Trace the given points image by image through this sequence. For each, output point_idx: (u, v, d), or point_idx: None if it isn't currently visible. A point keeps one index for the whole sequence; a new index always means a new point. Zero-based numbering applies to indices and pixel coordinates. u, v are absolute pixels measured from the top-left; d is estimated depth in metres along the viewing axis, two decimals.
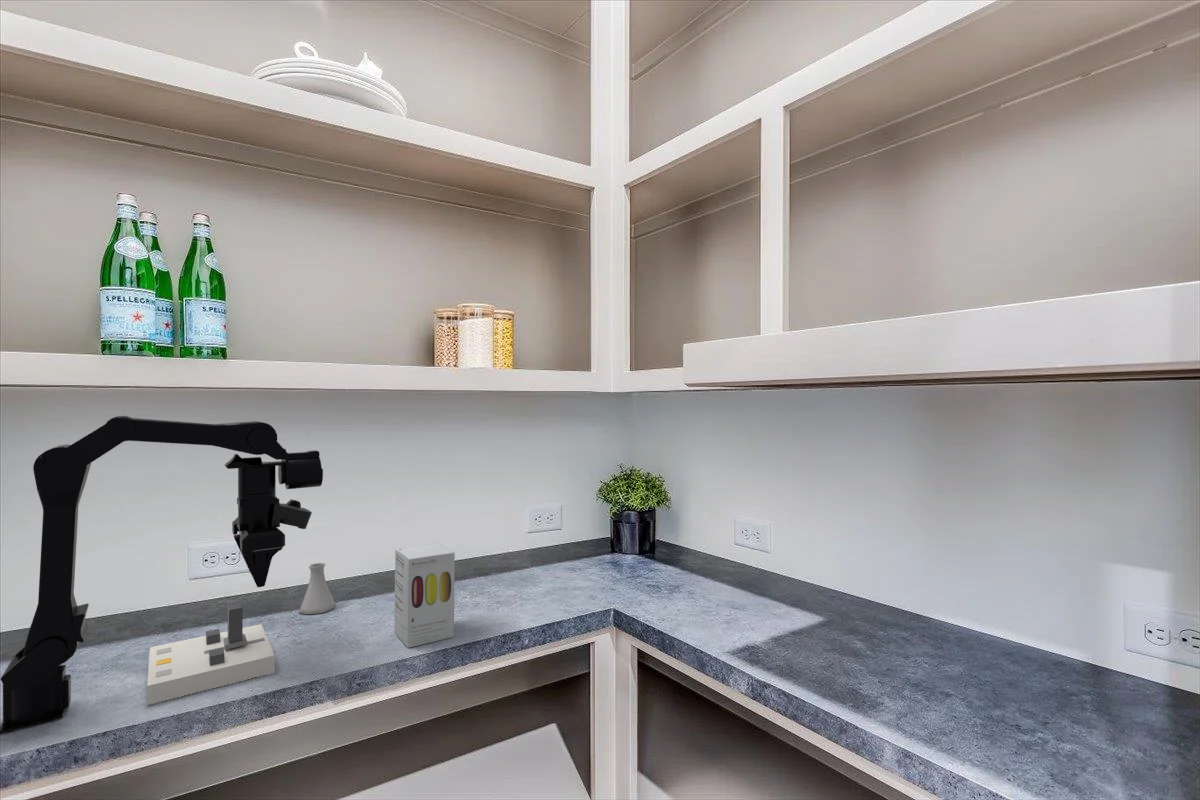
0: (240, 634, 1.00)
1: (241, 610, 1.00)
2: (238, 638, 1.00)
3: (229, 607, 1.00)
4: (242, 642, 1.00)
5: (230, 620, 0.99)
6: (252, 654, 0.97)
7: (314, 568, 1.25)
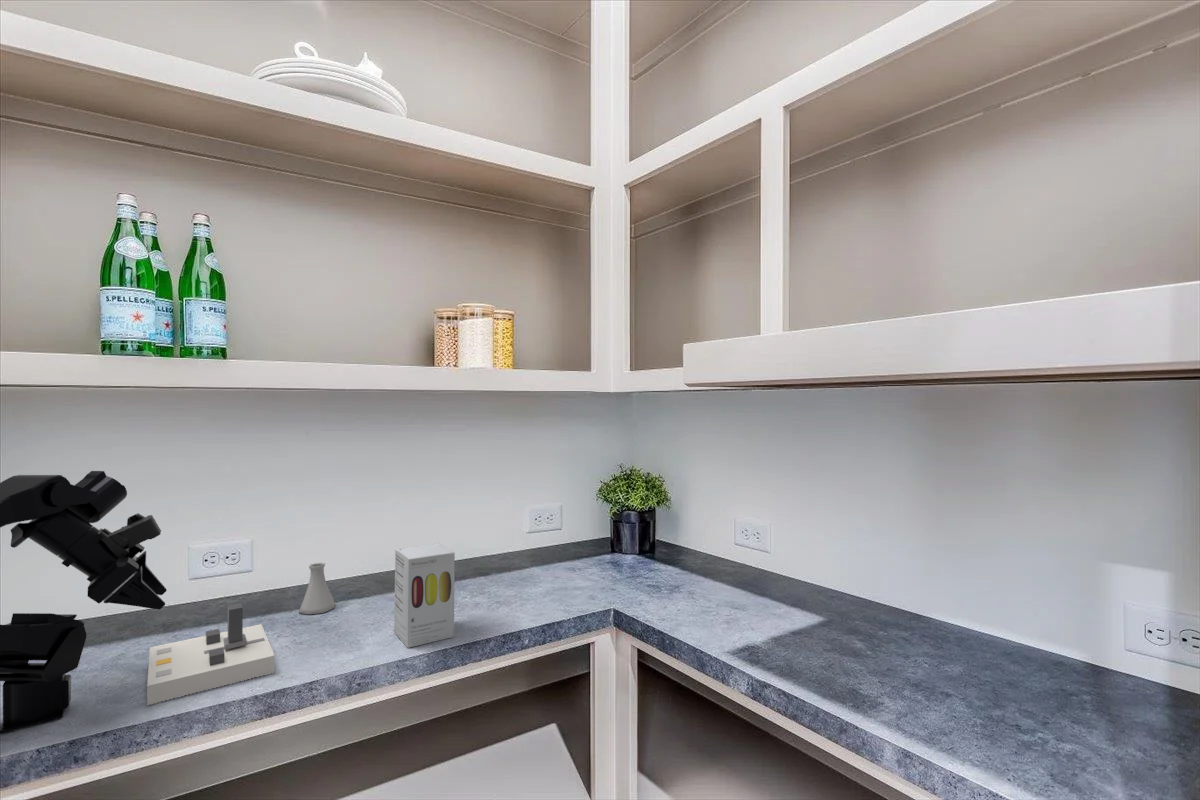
0: (240, 634, 1.00)
1: (241, 610, 1.00)
2: (238, 638, 1.00)
3: (229, 607, 1.00)
4: (242, 642, 1.00)
5: (230, 620, 0.99)
6: (252, 654, 0.97)
7: (314, 568, 1.25)
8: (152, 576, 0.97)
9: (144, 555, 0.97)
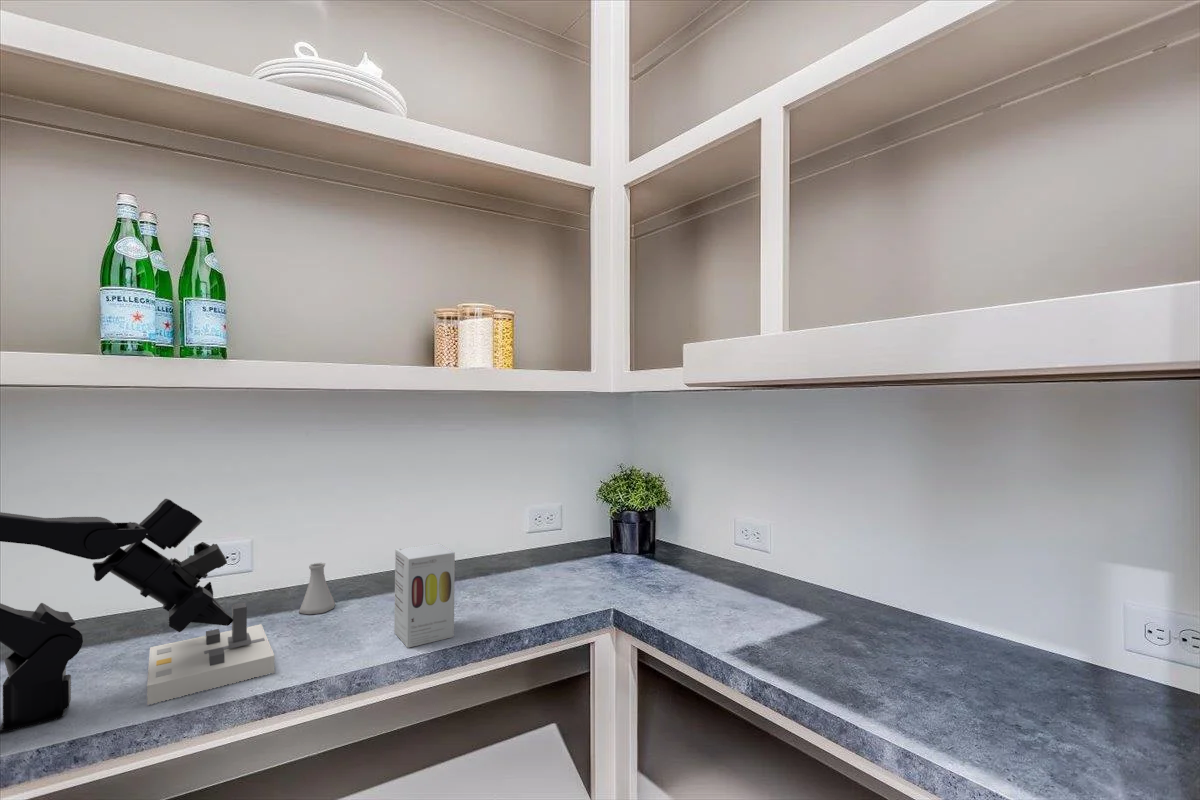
0: (245, 633, 1.00)
1: (245, 609, 1.00)
2: (242, 637, 1.00)
3: (233, 606, 1.01)
4: (246, 641, 1.00)
5: (234, 619, 0.99)
6: (252, 654, 0.97)
7: (314, 568, 1.25)
8: (219, 607, 0.99)
9: (210, 587, 0.99)
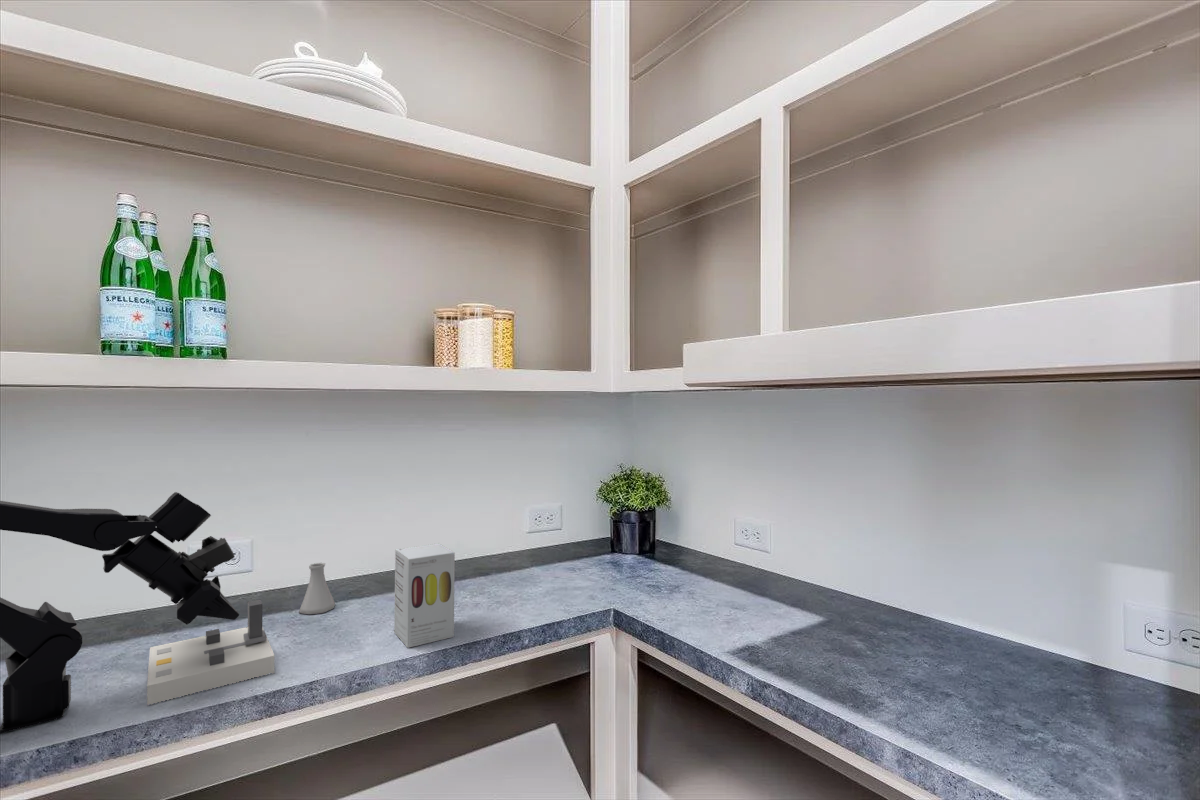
0: (260, 630, 1.02)
1: (261, 606, 1.02)
2: (258, 634, 1.02)
3: (249, 603, 1.02)
4: (262, 638, 1.02)
5: (250, 616, 1.01)
6: (252, 654, 0.97)
7: (314, 568, 1.25)
8: (225, 601, 1.00)
9: (217, 581, 1.00)
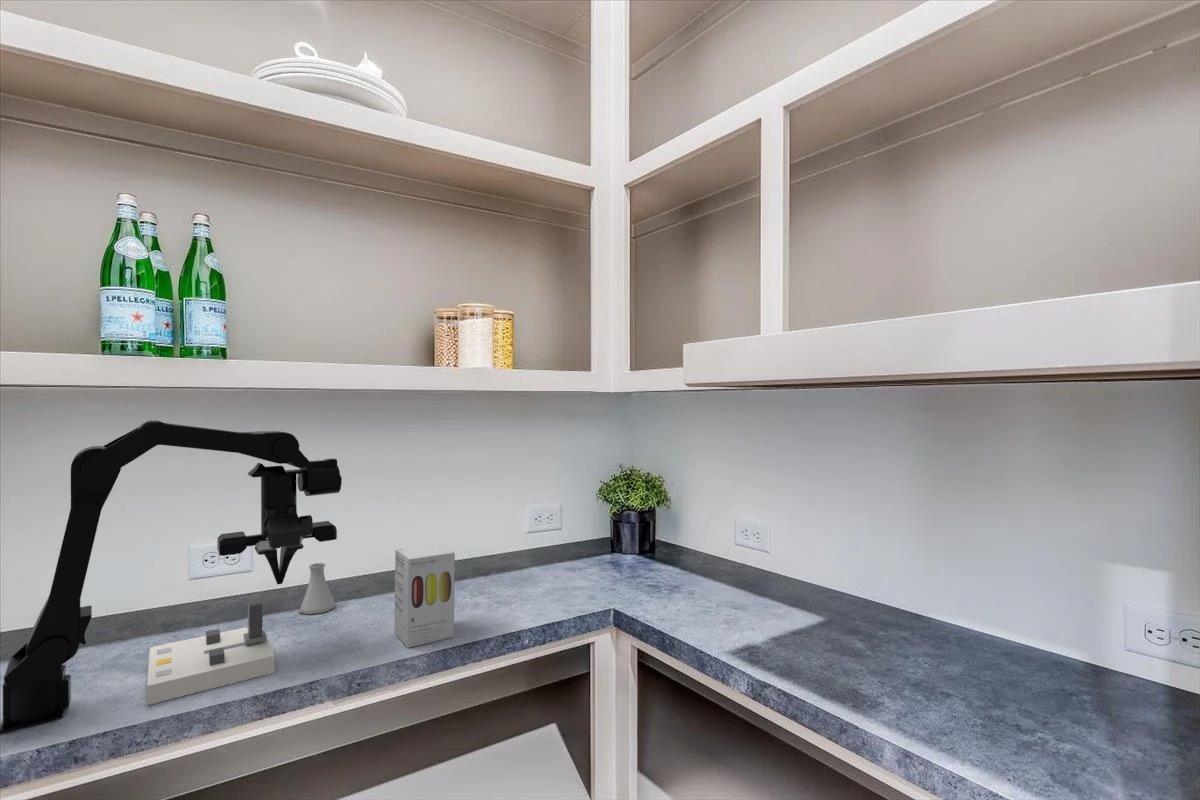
0: (260, 630, 1.02)
1: (261, 606, 1.02)
2: (258, 634, 1.02)
3: (249, 603, 1.02)
4: (262, 638, 1.02)
5: (250, 616, 1.01)
6: (252, 654, 0.97)
7: (314, 568, 1.25)
8: (281, 566, 1.04)
9: (286, 549, 1.03)
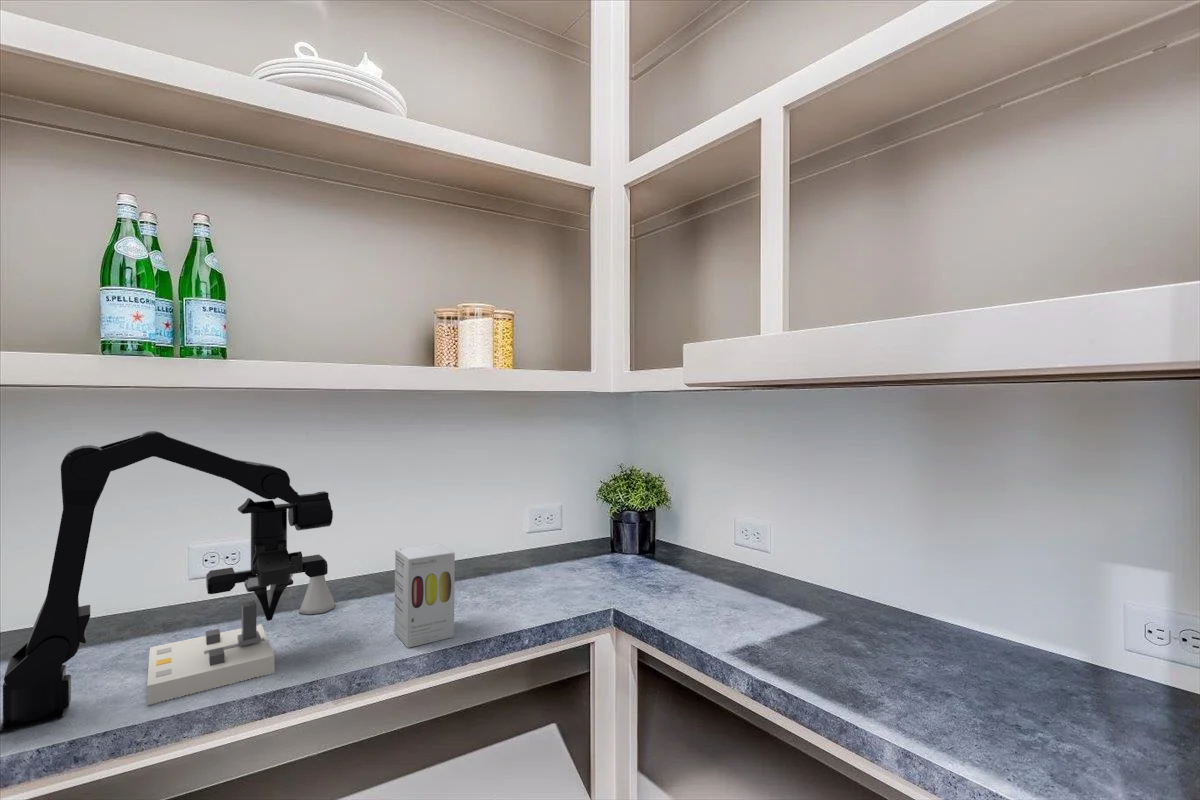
0: (254, 631, 1.01)
1: (255, 607, 1.01)
2: (252, 635, 1.01)
3: (243, 604, 1.01)
4: (256, 639, 1.01)
5: (244, 617, 1.00)
6: (252, 654, 0.97)
7: None
8: (271, 602, 1.03)
9: (275, 586, 1.02)
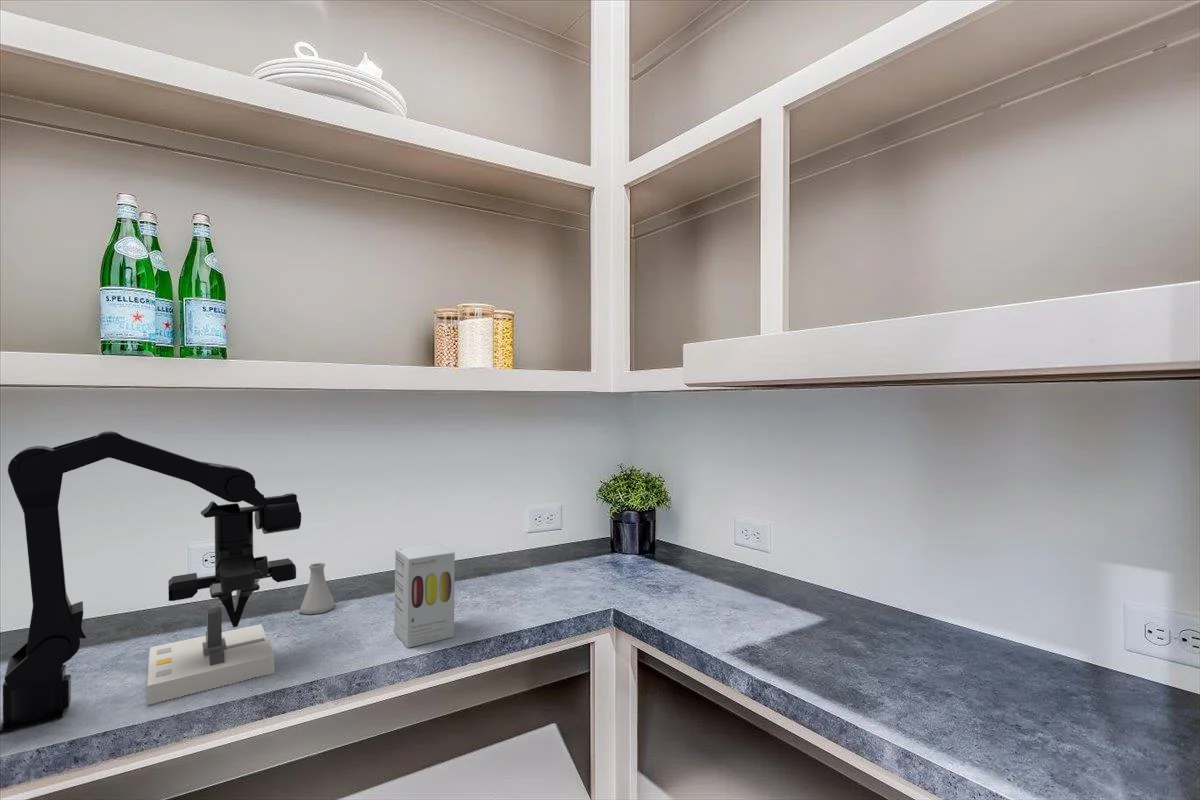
0: (220, 639, 0.98)
1: (220, 614, 0.98)
2: (217, 643, 0.98)
3: (208, 611, 0.98)
4: (221, 647, 0.98)
5: (209, 624, 0.97)
6: (252, 654, 0.97)
7: (314, 568, 1.25)
8: (236, 609, 1.00)
9: (240, 591, 0.99)
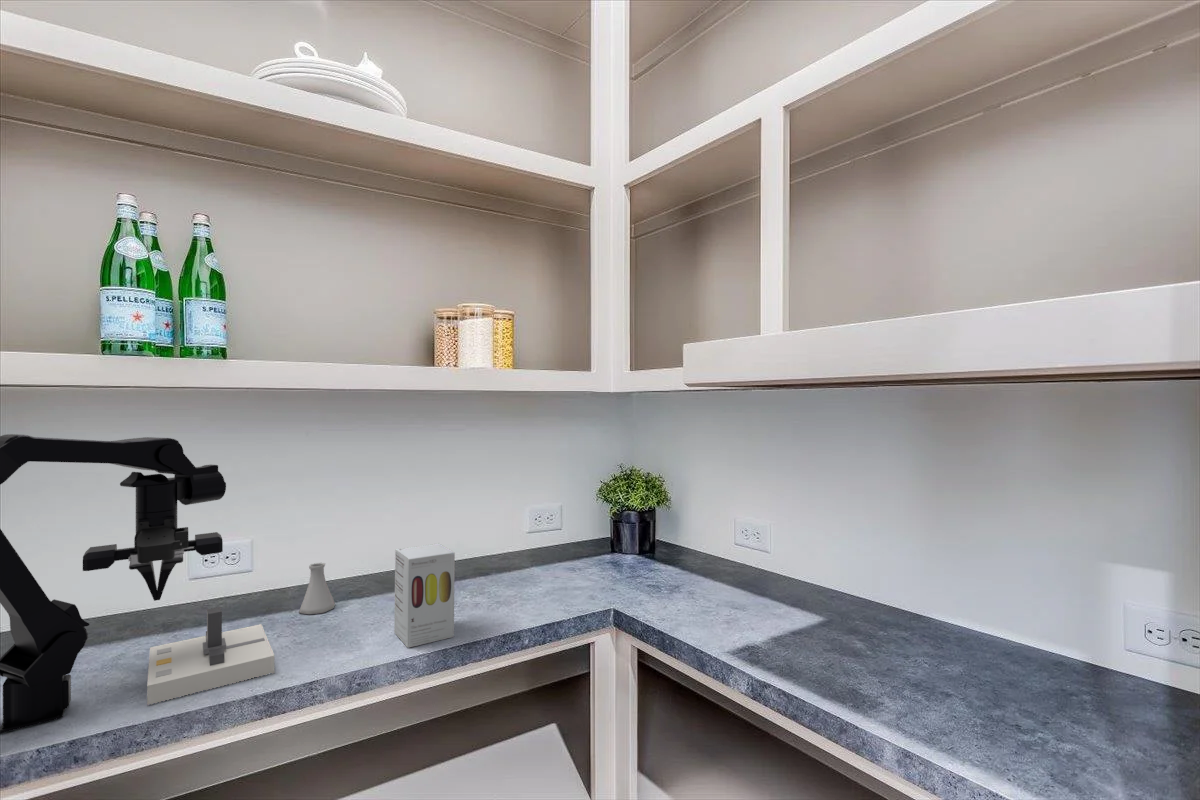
0: (220, 639, 0.98)
1: (220, 614, 0.98)
2: (217, 643, 0.98)
3: (208, 611, 0.98)
4: (221, 647, 0.98)
5: (209, 624, 0.97)
6: (252, 654, 0.97)
7: (314, 568, 1.25)
8: (158, 581, 0.98)
9: (162, 563, 0.97)
